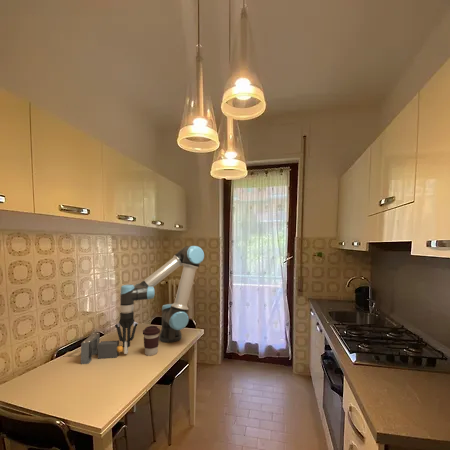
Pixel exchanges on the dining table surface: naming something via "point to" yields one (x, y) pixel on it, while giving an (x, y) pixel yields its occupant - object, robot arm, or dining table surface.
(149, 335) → the coffee cup
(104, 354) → the plug
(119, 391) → the dining table surface
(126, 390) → the dining table surface
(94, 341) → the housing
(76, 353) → the pad
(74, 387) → the dining table surface
